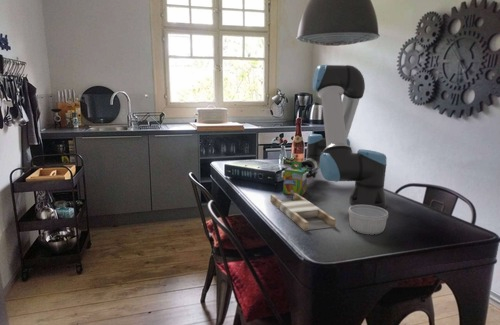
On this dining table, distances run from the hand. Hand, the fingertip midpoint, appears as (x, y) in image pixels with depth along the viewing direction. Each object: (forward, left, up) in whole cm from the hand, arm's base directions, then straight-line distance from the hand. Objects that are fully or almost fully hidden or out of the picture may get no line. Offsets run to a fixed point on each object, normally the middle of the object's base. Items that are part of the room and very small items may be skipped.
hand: (292, 176), depth 158 cm
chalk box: (0, -4, -9) cm, 10 cm away
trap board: (-11, +21, -9) cm, 25 cm away
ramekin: (-37, +24, -9) cm, 45 cm away
